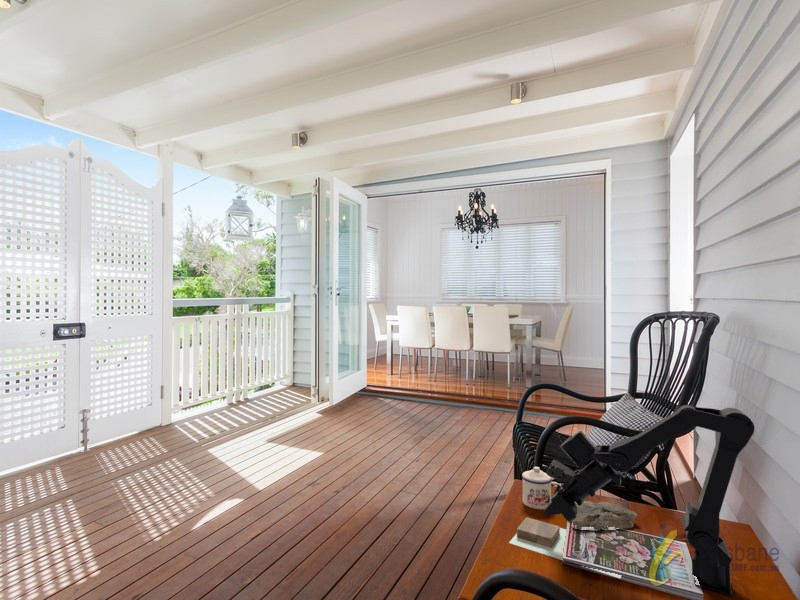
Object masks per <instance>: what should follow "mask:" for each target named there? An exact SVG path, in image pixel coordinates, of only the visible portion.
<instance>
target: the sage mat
mask: <svg viewBox="0 0 800 600" xmlns="http://www.w3.org/2000/svg"><path fill="white" fill-rule="evenodd" d="M566 530H567V528H566V529H565V528H563V527H560V535H559V537H558V538H557V540H556V542H555V543H554V545H553V546H552V548H550V547H547V546H544V545H541V544H537V543H534V542H531V541H528V540H524V539H521V538H518V537H517V532H516V533H515V535H514V536H513V537H512V538H511V539H510V541H509V542H508V544H511V545H514V546H517V547H520V548H524V549H525V550H526V549H527V550H530V551H533V552H535V553H539V554H542V555H545V556H547V557H548V556H549V557H552V558H553V559H556V560H561V561H564V560H563V548H564V542H565V536H566ZM564 562H565V561H564ZM581 567H583V568H586V569H589V570H592V571H595V572H599V573H602V574H604V575H608V576H610V577H614V578H617V579H621V578H622V575H618V574H615V573H610V572H605V571H602V570H598V569H593V568H588V567H584V566H581Z"/></svg>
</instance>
